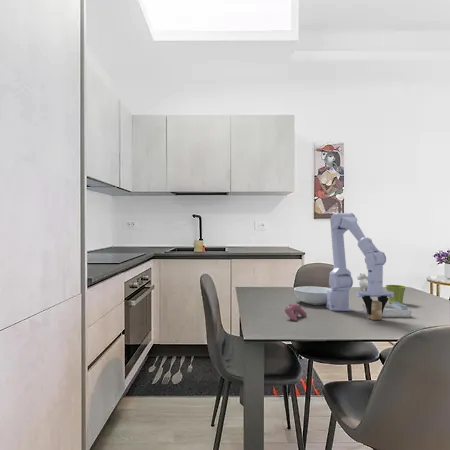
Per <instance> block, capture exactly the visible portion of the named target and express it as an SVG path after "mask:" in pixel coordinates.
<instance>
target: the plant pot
mask: <svg viewBox="0 0 450 450" xmlns="http://www.w3.org/2000/svg"><path fill="white" fill-rule="evenodd" d="M385 288H386V292H393V293H394V297H387V298H388V304H391V301H397V302H399V303H402V304H403V302H404V295H405V291H406V288H407V286H406V285H401V284H400V285H399V284H386V285H385Z"/></svg>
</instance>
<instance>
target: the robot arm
mask: <svg viewBox="0 0 450 450" xmlns="http://www.w3.org/2000/svg"><path fill="white" fill-rule="evenodd" d="M329 221H330V223H329V224H330V229H331V230H330V232H331V233H330V235H331V247H332V248H331V249H332V261H333V269H332V270H331V271H330V272H329V279H328V286H329V288H331V289H332V290H328V291H327V304H326V309H328V310H330V311H334V312H335V311H337V312H339V311H341V312H342V311H344V312H345V311H347V312H352V311H353V310H352V308H350V303H349V302H350V291H351V288H352V287H353V285H354V280H353V277H352V272H351V271H350V270H349V269H348V268H347V261H346V249H345V237H344V234H345V233H346V232H348V231H350V233H351V234H352V236H353V237H354V238H355V239H356V240H357V247H358V248H359V250H360V251H361V253H362V254H363V255H364V263H365V265H366V269H367V277H368V288H367V291H365V290H363V291H360V290H359V291H356V297H359V298H361V299H362V301H363V302H364V303H363V304H365V306H366V309H367V313H366V314H367V315H368V314H369V315H371V304H372V300H373V298H374V297H375V298H377V300H378V301H380V302H382V313H383V310H384V307H385V305H386V304H387V303H388V302H389V299H388V297H394V293H393V292H387V290H386V291H385V290H383V289H384V287H383V286H384V285H383V284H384V283H383V280H384V277H383V276H384V275H383V274H384V271H383V270H384V265H385V264H386V262H387V256H386V254H385V252H384V251H381V250H380V249H378V248H377V246H376V245H375V243H373V240H372V238H369V237H366V235H365V234H364V232H363V230H362V228H361V227H360V226H359V224H358V218H357V217H356V215H355V214H354V213H353V212H349V213H348V212H334V213H333V214H332V215H331V216H330V220H329Z"/></svg>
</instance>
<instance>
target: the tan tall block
mask: <svg viewBox="0 0 450 450" xmlns="http://www.w3.org/2000/svg"><path fill="white" fill-rule="evenodd" d="M367 318H368V319H370V320H376V321H378V320H380V321H381V320H382V318H383V317H382V302H380V301H378V299H377V300H376V299H375V300H373V299H372V304H371V315H369V314H367Z"/></svg>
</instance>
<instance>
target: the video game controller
mask: <svg viewBox="0 0 450 450" xmlns="http://www.w3.org/2000/svg"><path fill="white" fill-rule="evenodd" d="M284 313H285V314H286V315H287V316H288V317H289V318H290V319H291V320H292V321H294V322H295V321H297V320H298V317H299V315H300V316H302V317H303V318H306V317H307V312H306V311H305V309H304V308H302V306H300V304H298V303H294V302H293V303H290V304H288V305H287V306H285V307H284Z"/></svg>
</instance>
